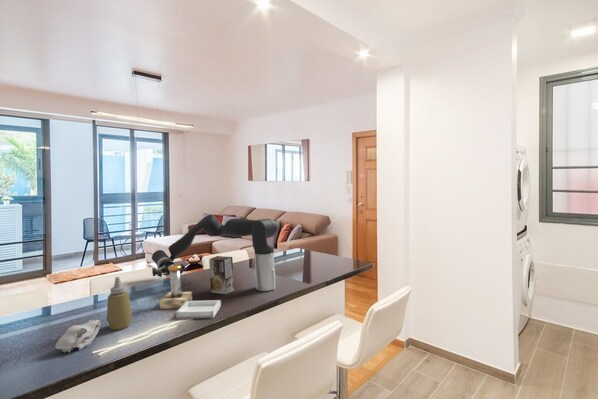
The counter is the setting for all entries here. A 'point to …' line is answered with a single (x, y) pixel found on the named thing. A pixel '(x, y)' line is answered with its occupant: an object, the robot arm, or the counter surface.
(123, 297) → the squeeze bottle
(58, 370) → the counter surface
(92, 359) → the counter surface
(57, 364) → the counter surface
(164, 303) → the socket block
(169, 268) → the pin
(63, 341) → the skull
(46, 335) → the counter surface
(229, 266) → the coffee box
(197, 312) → the tray
